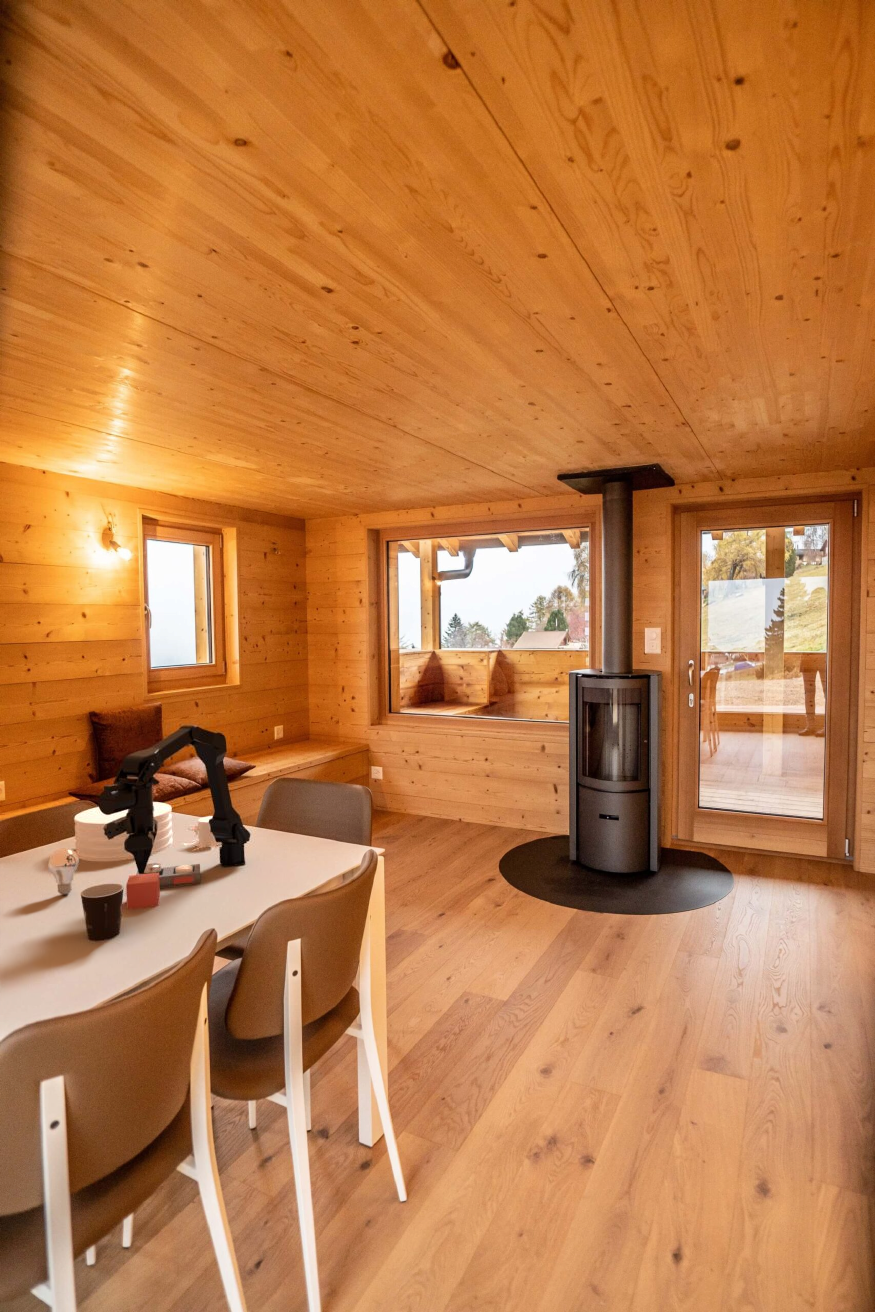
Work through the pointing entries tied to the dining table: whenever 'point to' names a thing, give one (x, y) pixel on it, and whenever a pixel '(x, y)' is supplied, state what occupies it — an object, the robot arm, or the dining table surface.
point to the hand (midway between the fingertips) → (143, 868)
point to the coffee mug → (102, 911)
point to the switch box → (178, 877)
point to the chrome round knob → (153, 868)
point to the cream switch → (184, 869)
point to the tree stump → (204, 834)
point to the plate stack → (99, 848)
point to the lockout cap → (143, 890)
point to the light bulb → (64, 868)
